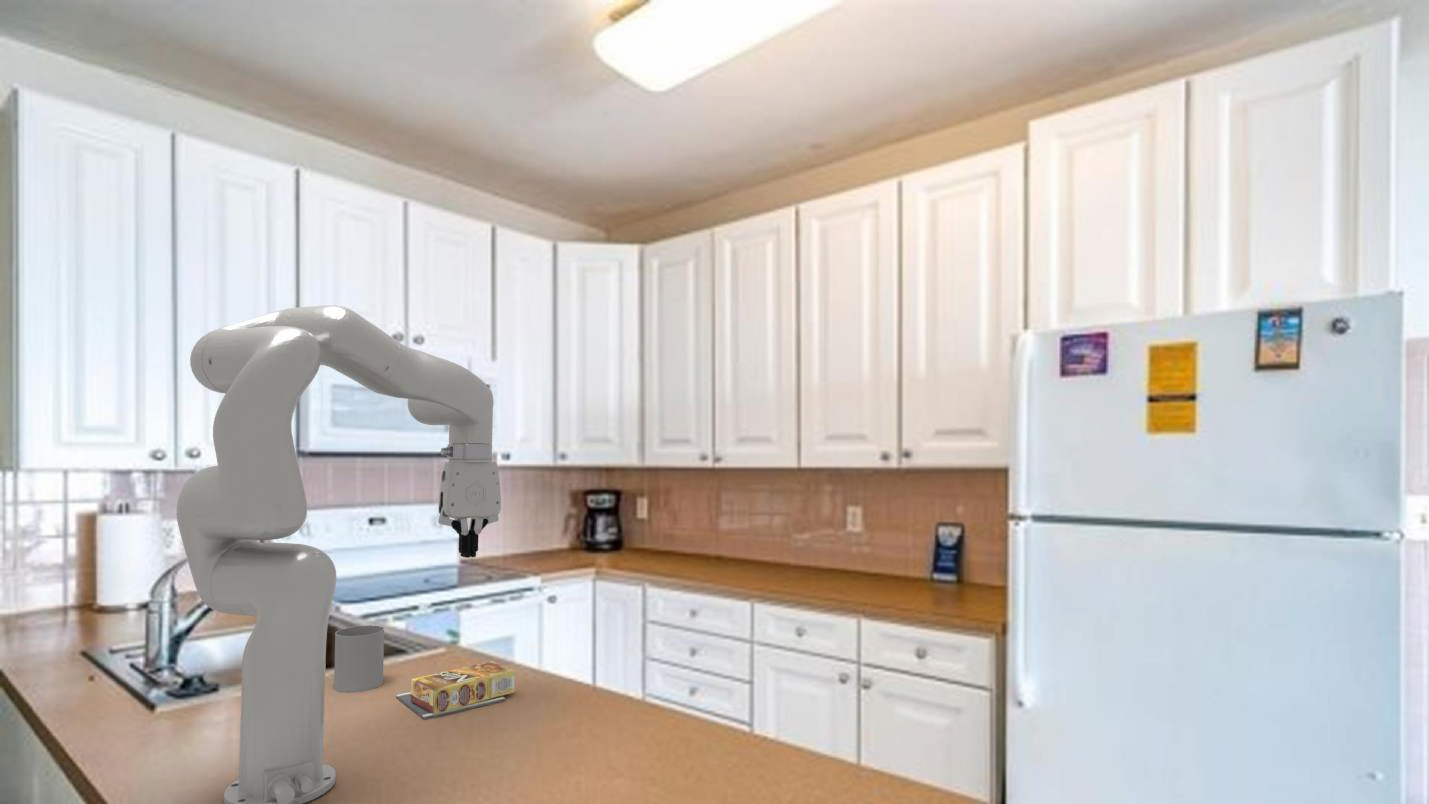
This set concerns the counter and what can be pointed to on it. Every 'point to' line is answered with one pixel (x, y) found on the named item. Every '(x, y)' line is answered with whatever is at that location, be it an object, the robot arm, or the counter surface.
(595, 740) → the counter surface
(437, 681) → the candy box
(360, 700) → the counter surface
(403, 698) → the mat
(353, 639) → the cup
